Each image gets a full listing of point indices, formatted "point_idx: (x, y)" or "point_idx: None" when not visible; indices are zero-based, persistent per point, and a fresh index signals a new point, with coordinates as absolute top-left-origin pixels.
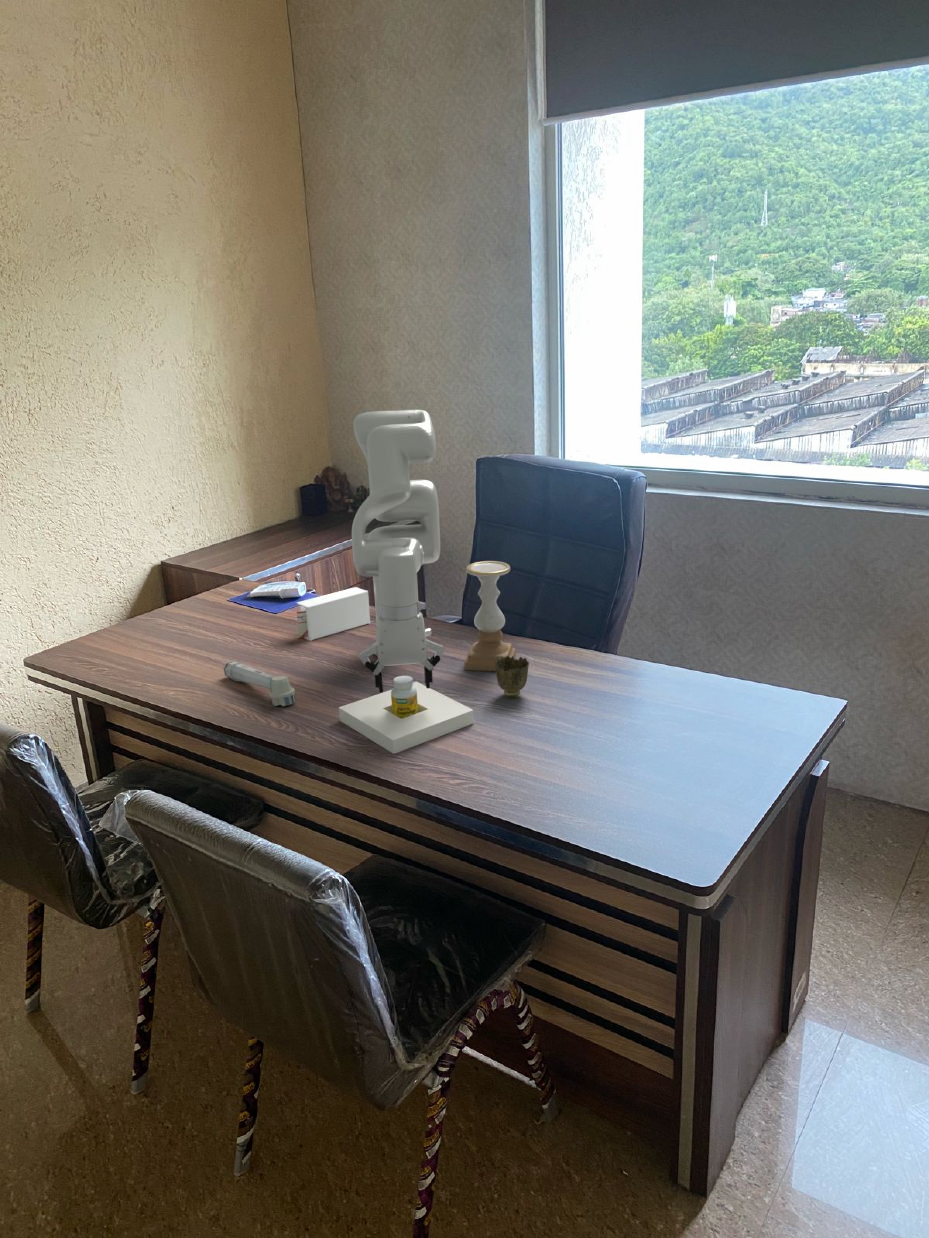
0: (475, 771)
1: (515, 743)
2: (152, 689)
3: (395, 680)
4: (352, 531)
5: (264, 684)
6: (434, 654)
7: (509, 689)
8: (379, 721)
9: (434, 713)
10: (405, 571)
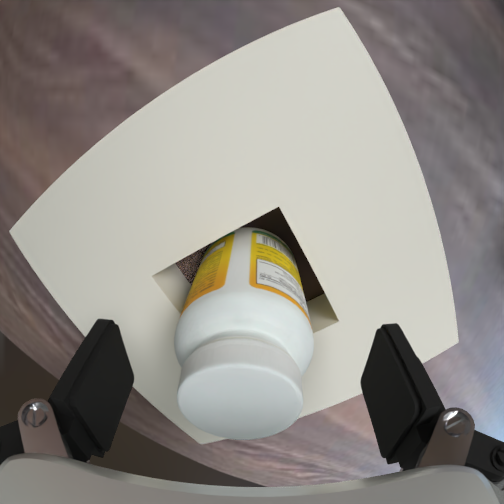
0: (346, 460)
1: (452, 397)
2: None
3: (190, 408)
4: None
5: None
6: (498, 475)
7: None
8: (152, 367)
9: (348, 354)
10: None
